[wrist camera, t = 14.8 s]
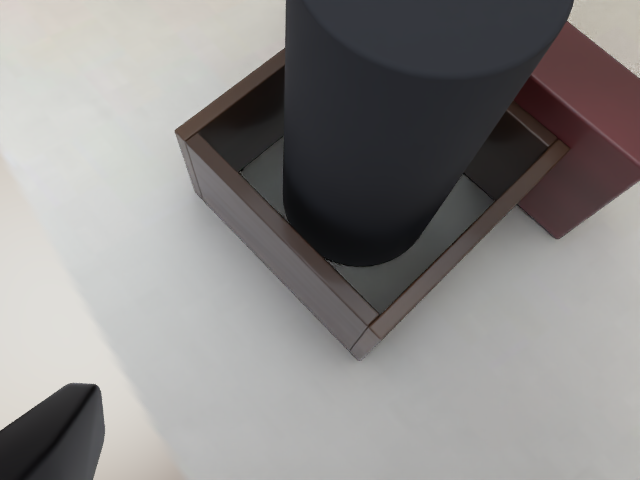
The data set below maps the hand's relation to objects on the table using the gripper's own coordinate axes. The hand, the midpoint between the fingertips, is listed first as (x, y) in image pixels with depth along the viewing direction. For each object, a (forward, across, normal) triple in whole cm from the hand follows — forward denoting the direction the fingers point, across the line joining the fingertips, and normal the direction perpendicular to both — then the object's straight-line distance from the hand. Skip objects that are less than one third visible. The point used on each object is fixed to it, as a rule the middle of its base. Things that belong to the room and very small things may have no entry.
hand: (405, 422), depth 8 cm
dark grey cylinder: (+9, 0, 0) cm, 9 cm away
